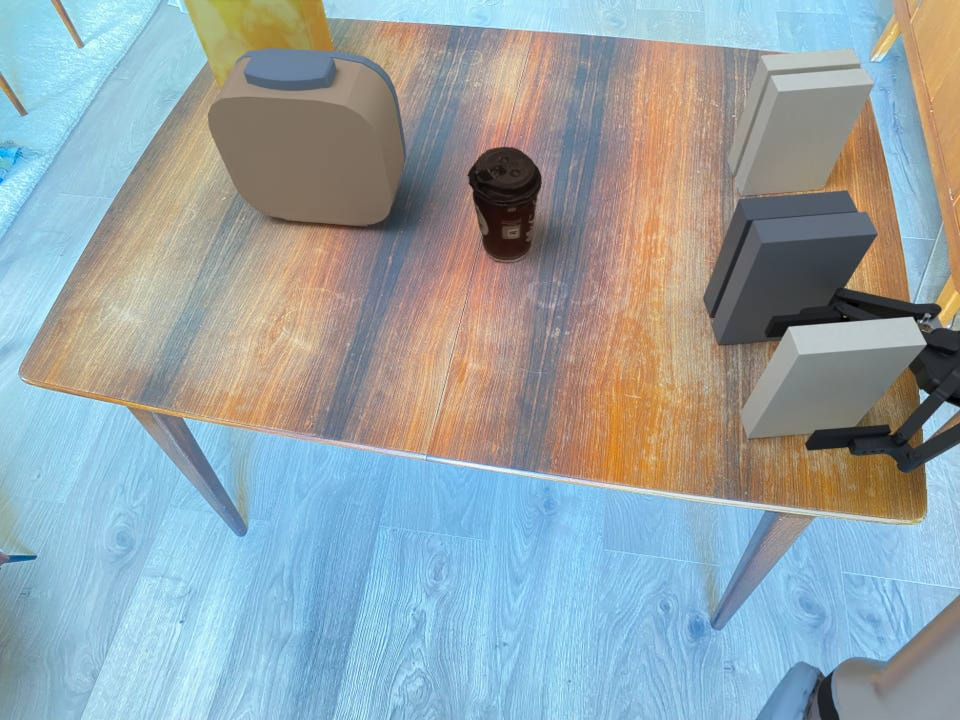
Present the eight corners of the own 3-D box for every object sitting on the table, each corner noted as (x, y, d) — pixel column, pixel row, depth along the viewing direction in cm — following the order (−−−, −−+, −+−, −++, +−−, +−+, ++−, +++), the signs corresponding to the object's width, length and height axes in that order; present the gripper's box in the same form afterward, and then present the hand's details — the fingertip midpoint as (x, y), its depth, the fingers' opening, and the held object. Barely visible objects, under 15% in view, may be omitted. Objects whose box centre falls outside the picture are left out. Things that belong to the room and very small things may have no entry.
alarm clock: (413, 185, 96) (389, 39, 78) (399, 235, 90) (369, 91, 72) (273, 175, 98) (218, 31, 80) (251, 223, 93) (187, 81, 75)
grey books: (813, 337, 79) (878, 233, 64) (717, 345, 79) (761, 243, 64) (794, 290, 83) (851, 182, 68) (703, 297, 83) (741, 191, 68)
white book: (851, 430, 72) (927, 344, 59) (747, 439, 72) (799, 354, 59) (841, 406, 74) (913, 316, 60) (739, 414, 74) (788, 326, 60)
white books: (822, 189, 91) (874, 83, 78) (740, 196, 92) (778, 91, 78) (805, 154, 95) (852, 47, 82) (726, 161, 95) (760, 55, 82)
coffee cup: (467, 265, 87) (459, 188, 76) (478, 218, 91) (472, 138, 81) (535, 272, 86) (537, 194, 75) (543, 224, 90) (546, 144, 80)
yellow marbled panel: (350, 59, 113) (314, -104, 93) (327, 106, 106) (283, -58, 86) (251, 52, 115) (195, -108, 95) (222, 97, 109) (156, -64, 89)
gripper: (1056, 497, 62) (817, 516, 62) (939, 289, 75) (743, 304, 75) (1117, 462, 56) (851, 483, 56) (978, 241, 69) (763, 258, 69)
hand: (788, 380), depth 65 cm, fingers open, 12 cm apart
